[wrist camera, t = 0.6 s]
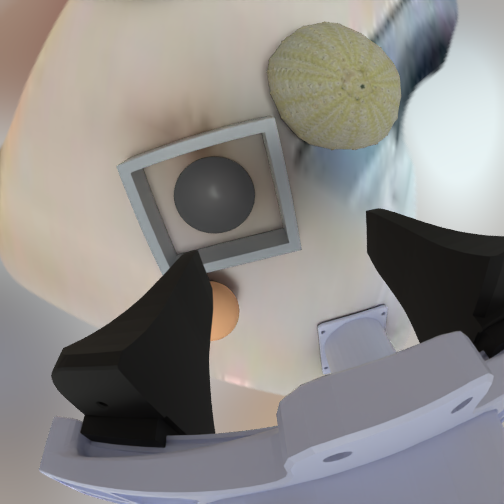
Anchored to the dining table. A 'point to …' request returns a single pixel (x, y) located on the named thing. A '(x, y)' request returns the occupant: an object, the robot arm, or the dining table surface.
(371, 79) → the sea urchin shell
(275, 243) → the corral
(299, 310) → the dining table surface
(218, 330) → the ball
